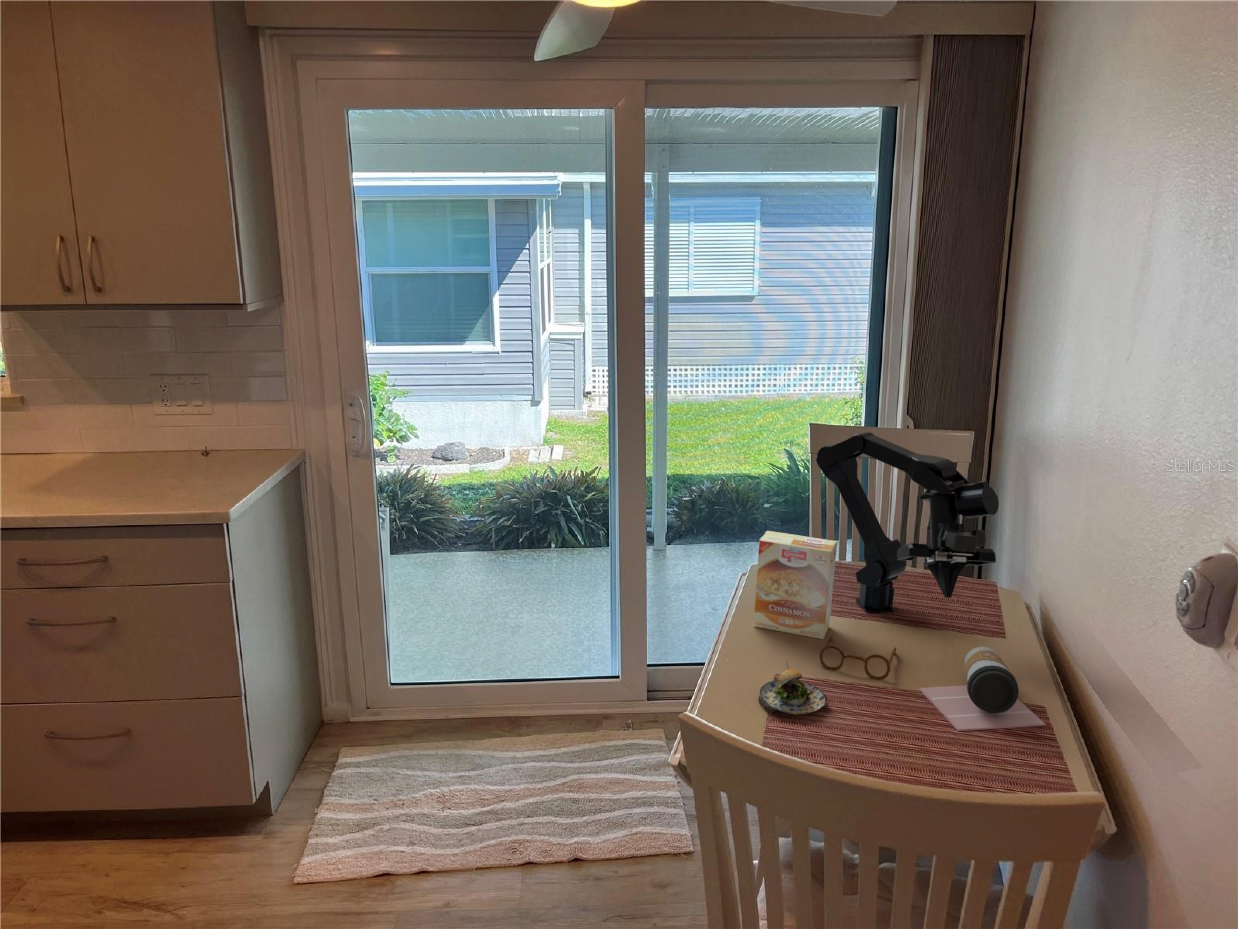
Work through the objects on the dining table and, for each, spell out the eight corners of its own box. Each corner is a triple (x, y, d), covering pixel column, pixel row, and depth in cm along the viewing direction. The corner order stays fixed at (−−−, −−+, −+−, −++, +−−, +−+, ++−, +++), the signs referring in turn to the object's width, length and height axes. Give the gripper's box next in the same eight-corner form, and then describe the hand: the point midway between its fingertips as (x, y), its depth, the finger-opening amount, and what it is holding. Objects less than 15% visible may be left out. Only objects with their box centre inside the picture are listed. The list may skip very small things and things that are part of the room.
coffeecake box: (752, 627, 189) (758, 539, 183) (760, 614, 195) (766, 529, 190) (824, 640, 183) (832, 550, 178) (829, 626, 190) (837, 539, 184)
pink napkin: (957, 731, 151) (958, 729, 151) (919, 689, 164) (919, 687, 164) (1045, 725, 153) (1045, 723, 153) (1000, 685, 167) (1000, 683, 167)
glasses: (817, 669, 172) (819, 645, 171) (830, 641, 184) (832, 619, 182) (888, 684, 167) (890, 659, 166) (896, 654, 179) (899, 631, 177)
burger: (766, 722, 153) (769, 683, 151) (751, 688, 164) (754, 651, 162) (835, 721, 154) (839, 682, 152) (815, 687, 165) (819, 650, 163)
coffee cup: (1011, 647, 166) (1026, 677, 152) (999, 688, 168) (1013, 722, 154) (964, 635, 168) (975, 664, 154) (953, 676, 170) (963, 709, 156)
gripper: (922, 510, 173) (924, 591, 169) (1010, 517, 176) (1014, 597, 172) (895, 519, 183) (897, 596, 180) (978, 526, 186) (982, 601, 183)
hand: (948, 597), depth 178 cm, fingers closed
